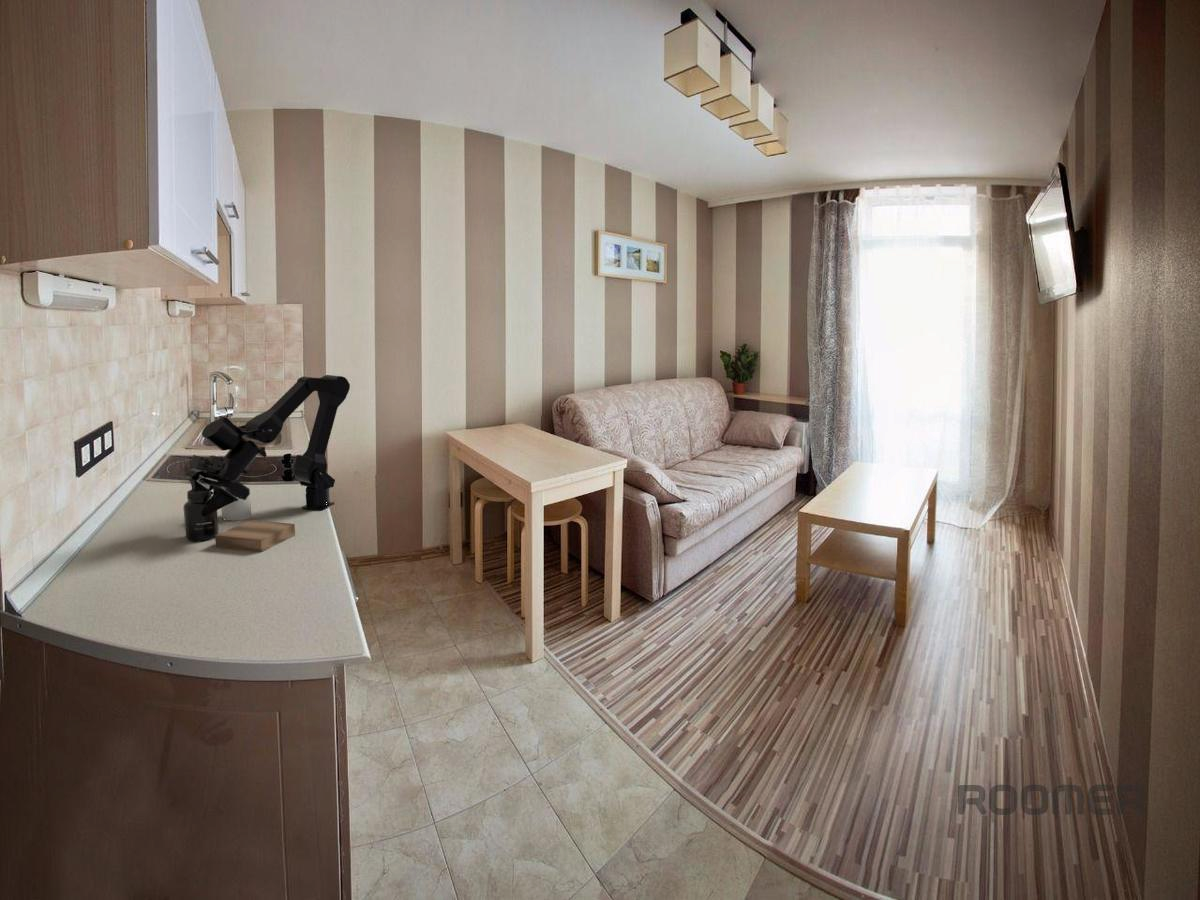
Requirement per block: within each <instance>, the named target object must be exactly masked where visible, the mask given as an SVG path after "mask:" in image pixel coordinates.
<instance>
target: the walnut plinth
mask: <svg viewBox="0 0 1200 900" xmlns="http://www.w3.org/2000/svg"><path fill="white" fill-rule="evenodd" d="M294 535H295V536H296V527H295V523H290V522H289V523H288V522H286V523H285V522H277V521H270V520H269V521H267V520H257V519H256V520H255V519H251V520H248V521H246V522H243V523H241V524H239V525H236V526H233V527H231V528H229V529H227V530H224V531H222V532H219V534H217V535H215V538H214V540H215V548H220V549H228V550H237V551H240V550H241V551H249V552H257V553H258V552H259V553H262V552H264V551H266V550H268V549H270V548H273V547H274V546H277V545H279V544H280V543H282V542H285V541H287V540H288V539H291V538H292V537H294Z"/></svg>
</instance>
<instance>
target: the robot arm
mask: <svg viewBox="0 0 1200 900" xmlns="http://www.w3.org/2000/svg"><path fill="white" fill-rule="evenodd" d="M350 388H351V383H350V382H349V380H348V379H347V378H346V377H344V376H342V375H341V376H340V375H334V374H333V375H332V374H325V375H323V376H321V377H313V376H312V377H311V376H301V377H299V378H298V379H297V381H296V383H294V384H293V385H292V386H291V387H290V388H289V389H288V390H287V391H286V392H285V393H284V394H283V395H281V397H280V398H279V399H278V400H277V401H276V402H275V403H274V404H273V405H272V406H271V407H270V408H269V409H267V410H266V411H264V412H262V413H259V414H258V415H256V416H254V417H253V418H251V419H250V420H248V421H247V422H246V423H245V424H243V425H240V426H236V424H235V423H233V422H232V421H231V420H230V419H229V418H228V417H227V416H222V415H221V416H220V417H219V418H218V419H216V420H214V421H212V422H210V423H209V424H207V425H206V426H205V427H204V429H202V432H201V436H202V437H203V438H205V439H206V440H207V441H208V442H209V443H211V444H213V445H214V446H215V447H216V448H218V449H220V451H227V450H228V451H227V453H226V454H225V455H224V456H215V455H210V456H209V457H208V458H207V457H203V456H199V455H195V454H193V455H192V458H191V460H190V463H189V465H188V468H191V469H190V470H189V471H188V472H187V473H186V474H185V478H187V479H188V481H189V483H190V486H191V490H193V489H200V488H206V489H210V490H211V496H212V497H211V498H210V500H209V502H208V503H207V505H206V506H205V508H204V509H203V511H202V513H201V515H202V516H204V517H205V516H207V515H209V514H211V513H213V512H215V511H217V512H218V510H221V508H222V507H224V506H226V505H228V504H230V503H232V502H234V501H238V499H237V498H239V499H242V500H246V499H247V497H248V496H249V495H250V496H251V489H249V488H247V487H246V486H247V485H244V484H243V483H242V482H240V481H239V480H238V479H239V478H240V477H241V476H242V475H244V476H247V474H248V472H249V471H248V470H246V469H247V468H248V467H249V466H250V464H251V463H252V462H253V461H254V459H255V458H256V457H257V456H258V457H261V458H266V457H267V451H266V447H265V446H263V445H257V444H256V443H263V444H271V443H272V442H274V441H275V440H276V439H277V438H278V436H279V435H280V433H281V432H282V430H283V426H284V424H285V422H286V421H287V419H288V418H289V417H290V416H291V415H292V414H293V413H294V412H295V411H296V410H297V409H298V408H299V407H300V406H301V405H302V404H303V403H304V401H306V400H307V399H308V398H309V397H310V396H311V394H313V393H314V392H316V393H317V397H318V400H319V401H318V402H319V405H318V409H317V412H316V416H315V420H314V424H313V427H312V430H311V434H310V439H309V440H308V445H307V448H306V450H305V452H304V453H303V454H302V455H300V454H297V455H296V458H295V464H294V465H293V467H292V469H293V470H294V471H293V476H294V477H295V478H296V480H297V481H299V484H300V486H302V487H306V488H305V505H303V506H301V508H302V509H305V510H315V509H317V510H318V511H323V510H326V509H328V508H329V507H331V506H334V505H335V502H334V501H333V502H331V501H330V488H334V485H335V483H336V482H335V481H336V479H335V478H334V477H332V476H331V474H328V473H327V470H328V461H327V458H326V452H327V449H328V445H329V440H330V438H331V435H332V431H333V427H334V423H335V419H336V416H337V415H336V414H337V411H338V408H339V407H340V406H341V405H342V403H344V401H345V400H346V398H347V396H348V394H349V391H350ZM244 438H246V439H248V440H246V439H244ZM255 442H256V443H255ZM212 490H213V491H212ZM188 501H189V500H188V499H187V501H186V502H188ZM326 502H327V503H326ZM326 504H327V505H326ZM327 506H328V507H327ZM317 510H316V511H317Z"/></svg>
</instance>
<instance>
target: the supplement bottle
mask: <svg viewBox="0 0 1200 900" xmlns="http://www.w3.org/2000/svg"><path fill="white" fill-rule="evenodd" d="M211 491H212V490H210V489H206V488H200V489H193V490H192V489H189V490H188V491H187V492H186V493H187V494H186V495H187V496H186V497H187V501H188V500H189V501H188V502H187V501H186V502H185V503H184V505H183V519H184V531H185V532H184V533H185V538H186V540H187V541H190V542H205V541H210V539H211V540H213V538H214V539H215V535H217V534H219V533H220V532H219V531H220V530H219V522H218V521H219V520H218V519H219V518H218V510H217V511H215V512H213V513H211V514H209V515H207V516H205V517H204V516H202V515H201V513H202V511H203V509H204V508H205V506H206V505H207V503H208V502H209V500H210V499H211V497H212V496H213V495H211Z"/></svg>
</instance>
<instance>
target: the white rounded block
mask: <svg viewBox="0 0 1200 900" xmlns="http://www.w3.org/2000/svg"><path fill="white" fill-rule="evenodd" d="M245 486H246V487H247V488H249V489H250V488H251V487H250V486H249V485H245ZM250 490H251V489H250ZM237 499H238V501H234V502H232V503H230V504H228V505H226V506H224V507H222V508H220V510H221V512H220V513H221V519H222V518H223V519H225V520H224V521H226V520H237V521H243V520H247V519H249V518H251V517H252V514H253V513H252V502H251V494H250V495H249V496H248V497H247V499H246V500H242V499H239V498H237ZM246 518H247V519H246ZM223 519H222V520H223ZM242 519H243V520H242Z"/></svg>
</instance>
